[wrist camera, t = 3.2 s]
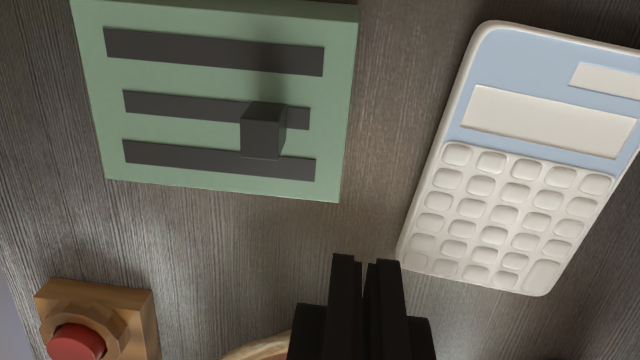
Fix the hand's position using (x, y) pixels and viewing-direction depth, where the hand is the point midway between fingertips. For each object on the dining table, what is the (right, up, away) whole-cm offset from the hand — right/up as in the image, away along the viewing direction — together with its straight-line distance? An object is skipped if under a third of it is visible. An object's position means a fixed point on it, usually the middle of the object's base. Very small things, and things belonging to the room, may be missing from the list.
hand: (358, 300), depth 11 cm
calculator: (+14, +4, +20) cm, 25 cm away
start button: (-23, -12, +27) cm, 37 cm away
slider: (-4, +6, +11) cm, 13 cm away
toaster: (-6, +11, +18) cm, 22 cm away
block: (-23, -14, +33) cm, 43 cm away
